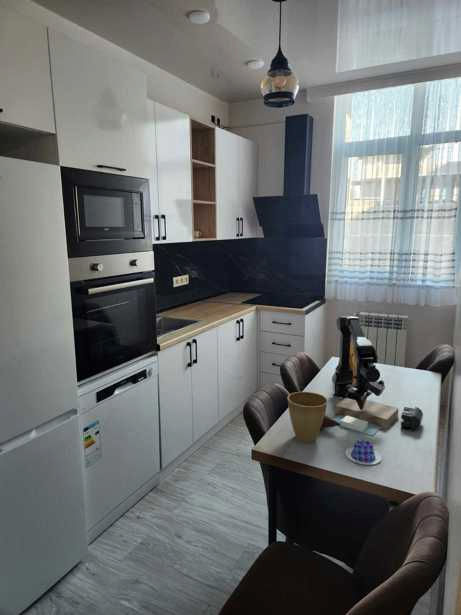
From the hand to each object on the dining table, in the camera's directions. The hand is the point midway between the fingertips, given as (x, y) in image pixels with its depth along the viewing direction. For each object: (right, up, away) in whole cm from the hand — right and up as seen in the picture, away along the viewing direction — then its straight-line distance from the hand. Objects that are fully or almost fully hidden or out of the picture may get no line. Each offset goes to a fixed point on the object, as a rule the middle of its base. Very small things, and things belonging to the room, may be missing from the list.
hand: (361, 409), depth 169 cm
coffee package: (+7, +3, +45) cm, 46 cm away
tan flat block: (+4, -4, +5) cm, 8 cm away
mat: (-4, -6, -4) cm, 8 cm away
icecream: (-18, -6, -7) cm, 21 cm away
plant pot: (-26, -8, -14) cm, 30 cm away
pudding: (-8, -10, -27) cm, 30 cm away
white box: (-5, -3, -5) cm, 8 cm away
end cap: (+19, -6, -5) cm, 20 cm away
